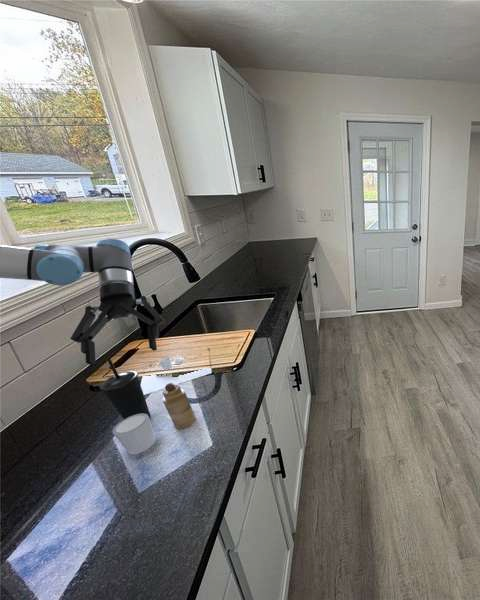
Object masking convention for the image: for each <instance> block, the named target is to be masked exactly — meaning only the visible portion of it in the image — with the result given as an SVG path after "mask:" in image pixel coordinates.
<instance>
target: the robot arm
mask: <svg viewBox="0 0 480 600" xmlns="http://www.w3.org/2000/svg"><path fill="white" fill-rule="evenodd" d="M130 249H131V248H130V246H129V245H128V244H127V242H125V241H123V240H121V239H117V238H106V239H100V240H99V241H98V242H97V243H96V246H95V245H92V246H85V245H65V244H64V245H63V244H55V243H51V244H37V245H35V246H34V248H29V247H28V248H27V247H17V246H10V245H3V244H2V245H1V244H0V279H11V280H25V281H39V282H45V283H47V284H49V285H52V286H68V285H71V284H72V285H73V284H74V283H76V282H77V281H78V280H79V279H81V277H82V276H83V274H84V273H97V274H98V287H99V301H100V304H99V306H91V305H87V306H85V309H84V314H83V316H82V318H81V319H80V321H79V323H78V325H77V326H76V327H75V330H73V333H72V335H71V336H70V340H71V341H73V342H76V343H78V344H80V351H81V353H82V354H84V355H85V364H87V365H89V366H96V365H97V362H96V345H95V341H93V339H94V338H95V337H97V335H98V334H99V333H100V332H101V330H102V329H103V328H104V327H105V326H107V324H108V323H110V322H111V321H112V320H117V319H121V318H128V317H129V316H130V315H132V316H134V317H136V318H138V319H139V320H141V321H142V322H144V323H146V324H147V326H146V329H147V337H148V347H149V349H151V350H152V351H153V352H154V351H157V350H158V347H157V338H159V337H160V330H159V327H160V326H162V325H165V324H166V320H165V319H164V318H163V317H162V316H161V315H160V314H159V313H158V312H157V311H156V309H154V307H153V306H152V305H151V302H150V299H149V298H148V297H146V296H145V295H142V296H140V298H136V292H135V287H134V286H135V284H134V283H135V282H134V274H133V263H132V254H131V250H130ZM138 305H140V306H142V307H144V308H145V310H147V311H148V312H149V313H150V314H151V315H152V317H153V318H155V320H152V319H151V318H149V317H148V316H146V315H144V314H143V313H141V312H139V311H138V310H137V309H136V308H137V306H138ZM99 312H100V313H99ZM96 316H97V319H96V320H95V318H96Z"/></svg>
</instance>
